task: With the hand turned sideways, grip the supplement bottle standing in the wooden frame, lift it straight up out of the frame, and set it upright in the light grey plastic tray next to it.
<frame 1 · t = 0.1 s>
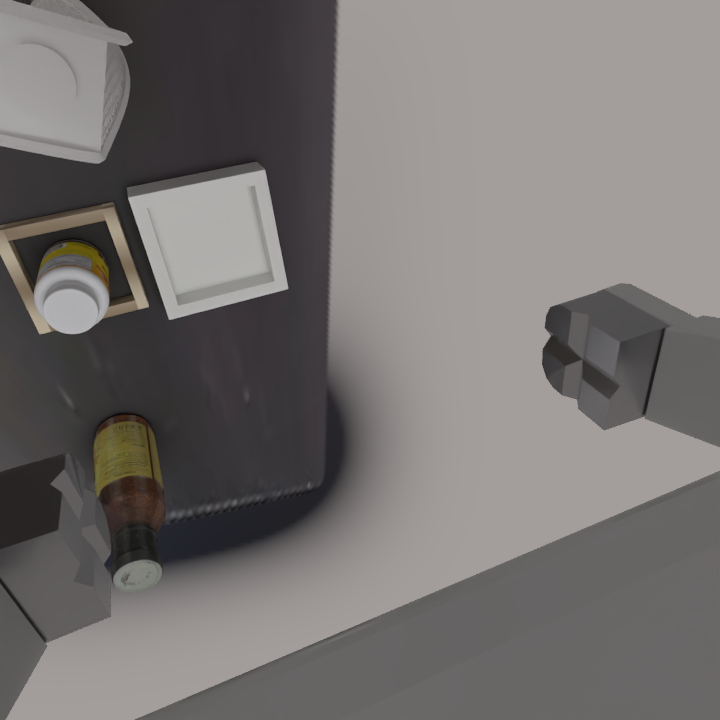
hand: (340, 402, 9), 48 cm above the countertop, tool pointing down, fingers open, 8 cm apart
sauce bottle: (126, 433, 63), on the countertop
tray: (209, 235, 55), on the countertop
supplement bottle: (76, 265, 52), resting in wooden frame
wooden frame: (76, 266, 52), on the countertop
skyscraper: (73, 49, 44), on the countertop
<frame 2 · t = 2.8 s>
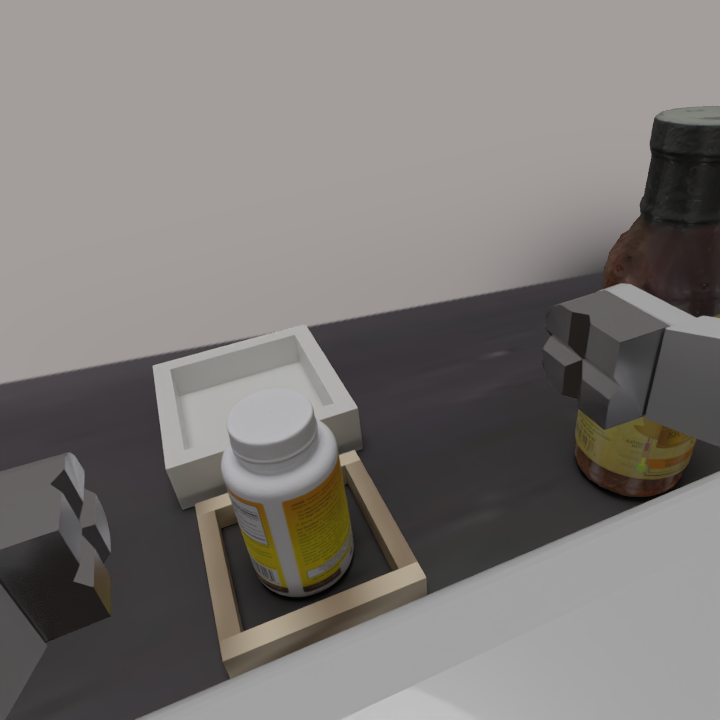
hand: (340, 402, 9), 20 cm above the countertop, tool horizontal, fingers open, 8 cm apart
sauce bottle: (626, 465, 34), on the countertop
tray: (256, 423, 41), on the countertop
supplement bottle: (305, 558, 31), resting in wooden frame
wooden frame: (304, 556, 31), on the countertop
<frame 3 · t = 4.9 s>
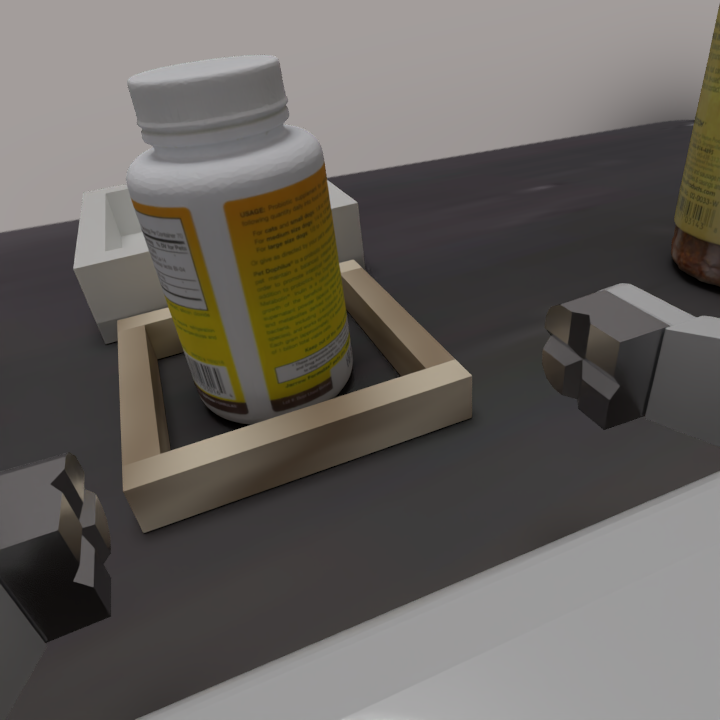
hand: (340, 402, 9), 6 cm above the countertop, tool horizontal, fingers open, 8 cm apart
tray: (221, 261, 30), on the countertop
supplement bottle: (279, 386, 20), resting in wooden frame
wooden frame: (278, 381, 20), on the countertop
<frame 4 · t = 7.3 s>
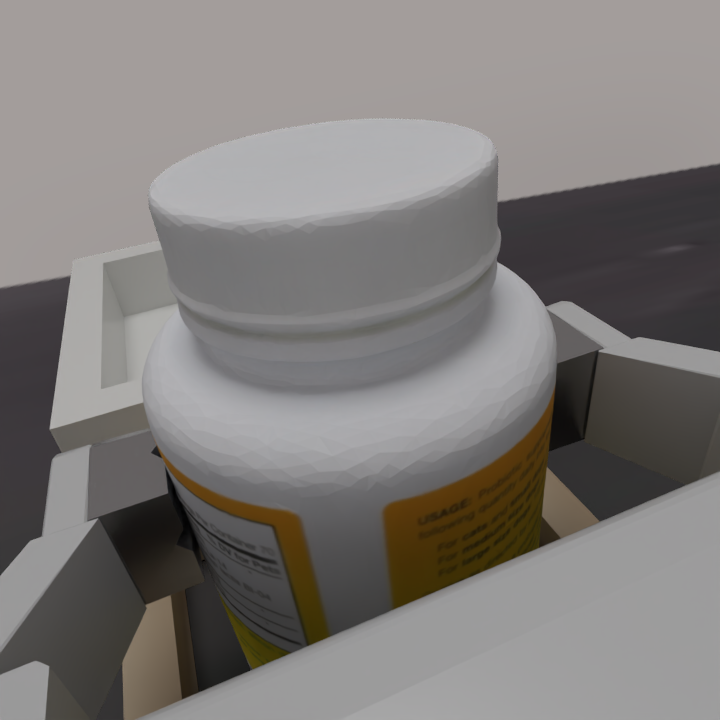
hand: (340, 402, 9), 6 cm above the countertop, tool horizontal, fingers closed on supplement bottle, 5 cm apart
tray: (261, 359, 22), on the countertop
supplement bottle: (390, 650, 12), resting in wooden frame, touching gripper
wooden frame: (389, 644, 12), on the countertop
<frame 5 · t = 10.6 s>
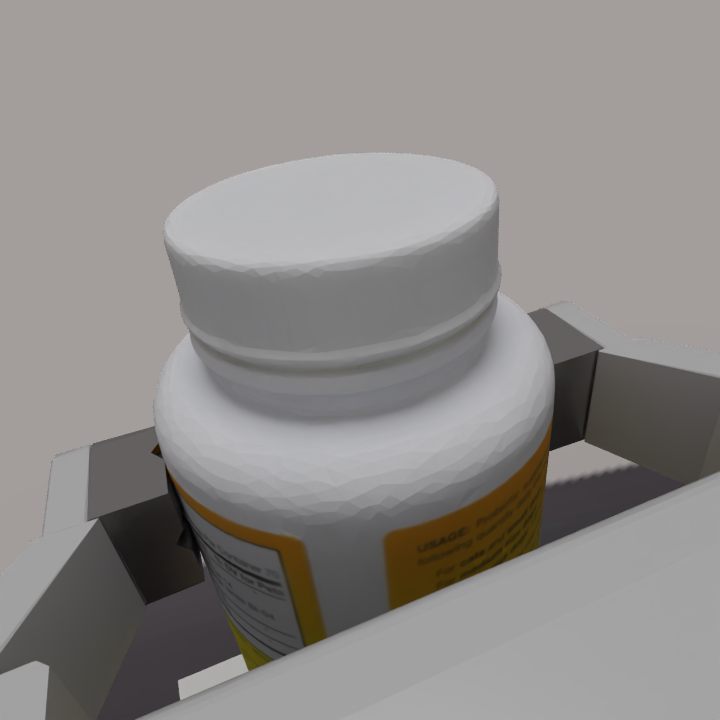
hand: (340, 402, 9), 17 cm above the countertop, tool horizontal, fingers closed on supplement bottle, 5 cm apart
supplement bottle: (390, 664, 12), point 11 cm above the countertop, touching gripper
when the fingers open (8 cm above the countertop, at t = 12.6 s): supplement bottle stays where it is, resting on tray.
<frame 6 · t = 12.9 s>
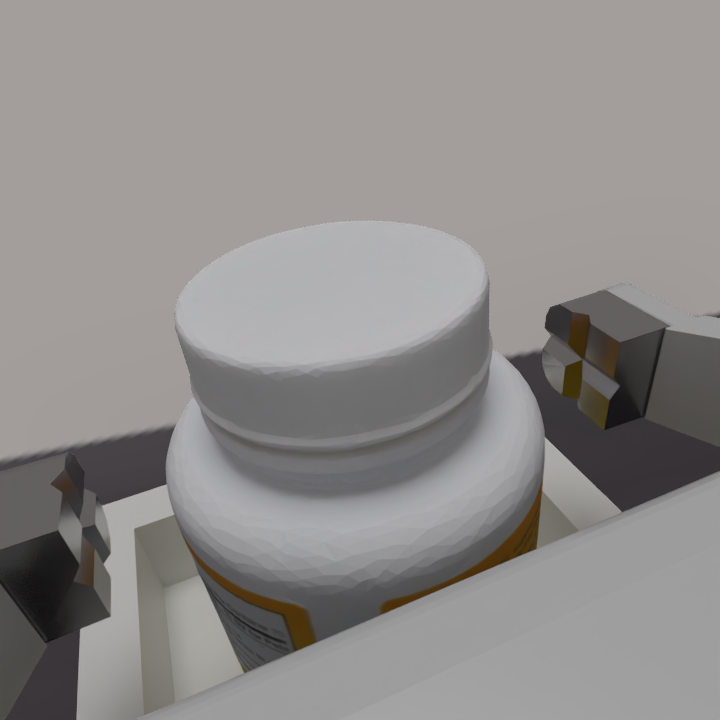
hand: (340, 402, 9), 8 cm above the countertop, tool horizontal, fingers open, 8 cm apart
tray: (396, 700, 13), on the countertop
supplement bottle: (393, 689, 13), point 1 cm above the countertop, touching tray
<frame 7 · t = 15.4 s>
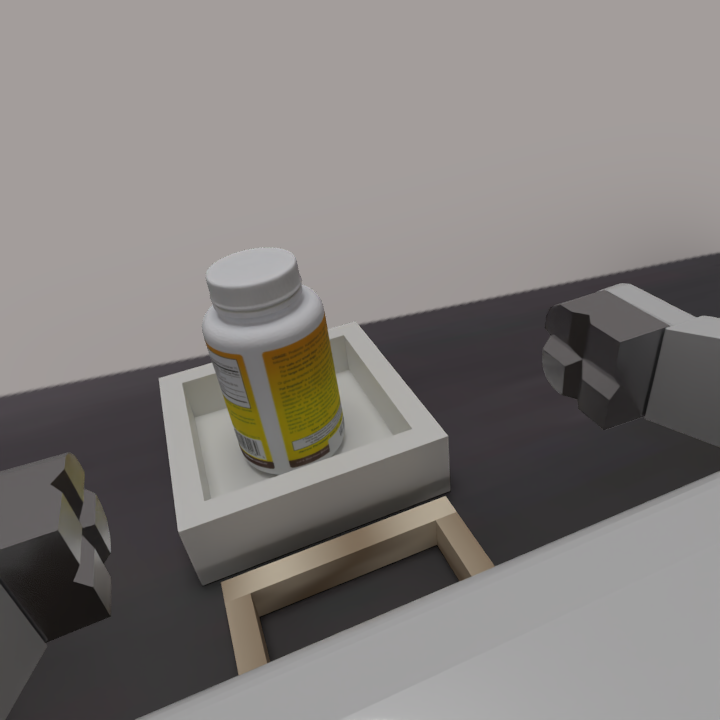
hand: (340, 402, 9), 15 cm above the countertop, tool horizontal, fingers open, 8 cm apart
tray: (298, 454, 30), on the countertop
supplement bottle: (295, 445, 30), point 1 cm above the countertop, touching tray
wooden frame: (389, 667, 20), on the countertop
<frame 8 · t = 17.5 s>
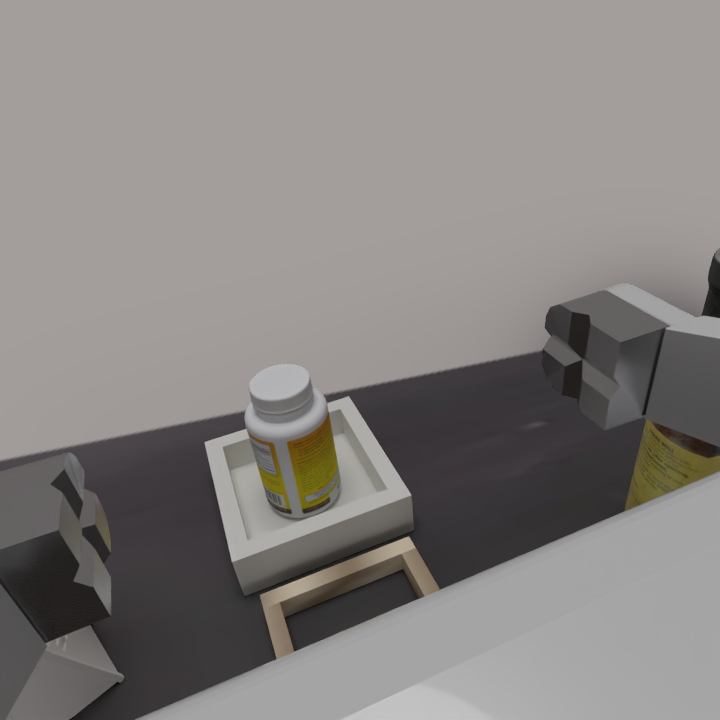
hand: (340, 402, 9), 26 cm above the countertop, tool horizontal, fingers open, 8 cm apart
sauce bottle: (671, 552, 36), on the countertop
tray: (307, 500, 42), on the countertop
supplement bottle: (305, 494, 42), point 1 cm above the countertop, touching tray
wooden frame: (368, 649, 32), on the countertop
skyscraper: (63, 677, 33), on the countertop
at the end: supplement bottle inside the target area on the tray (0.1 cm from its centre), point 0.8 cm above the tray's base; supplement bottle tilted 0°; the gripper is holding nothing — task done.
